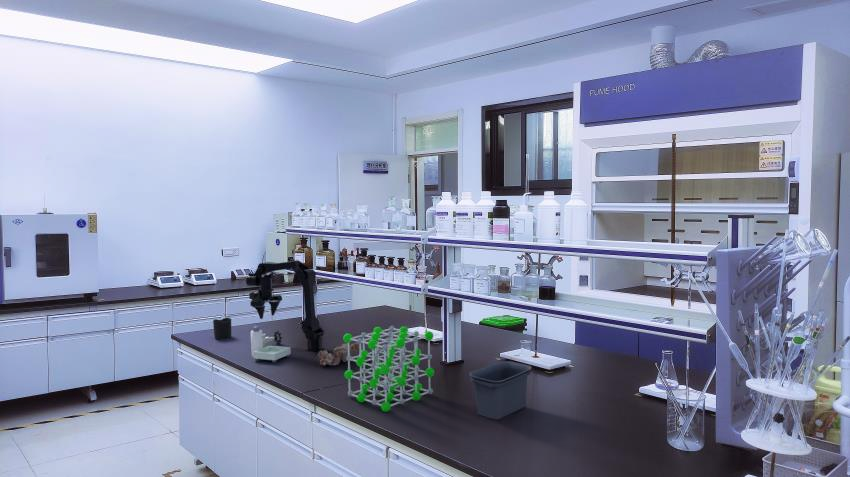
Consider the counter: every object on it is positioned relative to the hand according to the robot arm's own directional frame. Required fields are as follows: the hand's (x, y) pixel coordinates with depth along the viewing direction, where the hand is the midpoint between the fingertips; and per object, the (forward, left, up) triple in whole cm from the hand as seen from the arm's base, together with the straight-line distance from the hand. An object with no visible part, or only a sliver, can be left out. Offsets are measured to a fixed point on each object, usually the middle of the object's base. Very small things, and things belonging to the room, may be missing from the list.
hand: (267, 317), depth 295 cm
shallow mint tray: (-18, +21, -15) cm, 31 cm away
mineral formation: (-51, +15, -15) cm, 56 cm away
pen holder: (+36, -7, -15) cm, 39 cm away
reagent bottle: (-7, +18, -15) cm, 24 cm away
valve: (0, 0, -15) cm, 15 cm away
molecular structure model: (-93, +50, -15) cm, 107 cm away
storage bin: (-135, +51, -15) cm, 145 cm away
